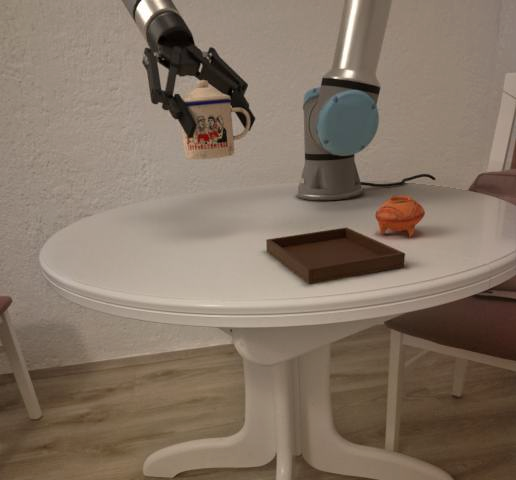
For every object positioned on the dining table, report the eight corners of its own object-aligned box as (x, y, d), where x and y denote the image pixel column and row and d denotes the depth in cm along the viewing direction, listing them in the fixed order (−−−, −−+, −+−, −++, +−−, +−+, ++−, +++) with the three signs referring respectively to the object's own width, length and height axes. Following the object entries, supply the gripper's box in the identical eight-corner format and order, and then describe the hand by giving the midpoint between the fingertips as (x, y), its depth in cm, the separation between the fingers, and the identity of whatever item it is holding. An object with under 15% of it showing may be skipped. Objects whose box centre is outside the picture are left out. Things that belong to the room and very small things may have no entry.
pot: (436, 231, 80) (434, 192, 76) (400, 250, 78) (396, 211, 74) (402, 221, 86) (398, 185, 83) (368, 239, 84) (363, 202, 81)
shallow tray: (346, 239, 81) (346, 227, 80) (404, 267, 66) (405, 253, 65) (266, 251, 77) (266, 239, 76) (308, 284, 63) (308, 269, 62)
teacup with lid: (182, 161, 80) (171, 82, 75) (186, 155, 88) (176, 83, 83) (253, 155, 80) (248, 75, 75) (251, 150, 88) (246, 78, 83)
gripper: (214, 50, 93) (269, 137, 89) (98, 52, 81) (155, 153, 77) (227, 12, 87) (286, 104, 83) (103, 8, 75) (164, 115, 71)
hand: (223, 128), depth 80 cm, fingers closed on teacup with lid, 11 cm apart
